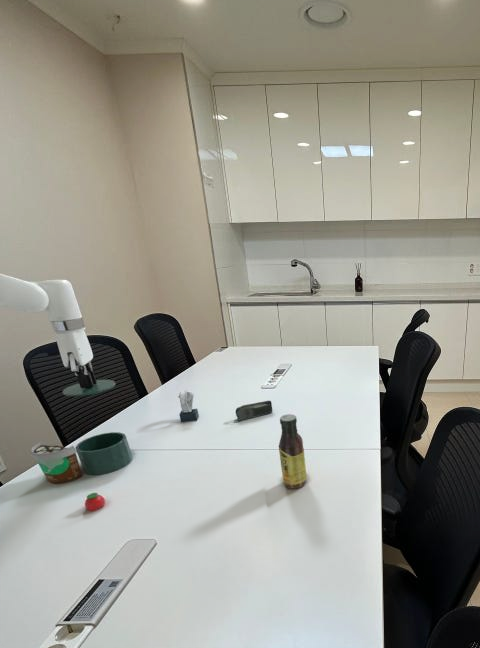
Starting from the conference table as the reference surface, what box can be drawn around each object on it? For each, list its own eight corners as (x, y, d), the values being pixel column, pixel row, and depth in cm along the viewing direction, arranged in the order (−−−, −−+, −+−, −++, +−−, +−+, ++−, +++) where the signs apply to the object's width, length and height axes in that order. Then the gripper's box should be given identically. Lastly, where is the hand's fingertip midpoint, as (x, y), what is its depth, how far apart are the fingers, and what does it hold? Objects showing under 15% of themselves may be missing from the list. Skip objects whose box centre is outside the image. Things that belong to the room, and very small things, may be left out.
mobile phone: (269, 398, 149) (230, 407, 141) (272, 401, 147) (233, 410, 139) (270, 410, 151) (232, 420, 143) (274, 413, 149) (235, 422, 141)
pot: (77, 478, 109) (68, 455, 106) (92, 457, 120) (84, 436, 117) (126, 470, 112) (119, 447, 109) (136, 450, 123) (130, 429, 120)
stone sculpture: (199, 414, 149) (193, 387, 145) (196, 422, 142) (189, 394, 138) (184, 415, 148) (177, 388, 144) (179, 424, 141) (172, 396, 137)
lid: (56, 400, 111) (49, 382, 109) (73, 385, 123) (67, 368, 121) (108, 394, 115) (103, 376, 112) (121, 380, 126) (116, 364, 124)
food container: (31, 483, 107) (16, 452, 103) (52, 472, 113) (39, 441, 109) (66, 488, 104) (53, 456, 100) (86, 476, 110) (74, 445, 106)
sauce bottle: (282, 479, 106) (273, 413, 98) (305, 475, 108) (297, 409, 100) (285, 492, 100) (276, 423, 92) (309, 487, 102) (302, 419, 94)
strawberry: (85, 517, 93) (79, 501, 91) (91, 507, 97) (85, 492, 95) (104, 513, 94) (98, 498, 92) (109, 504, 98) (104, 489, 96)
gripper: (64, 321, 117) (84, 379, 124) (40, 332, 103) (64, 396, 110) (92, 319, 119) (110, 376, 126) (73, 329, 105) (94, 393, 112)
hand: (89, 385), depth 118 cm, fingers closed on lid, 2 cm apart
